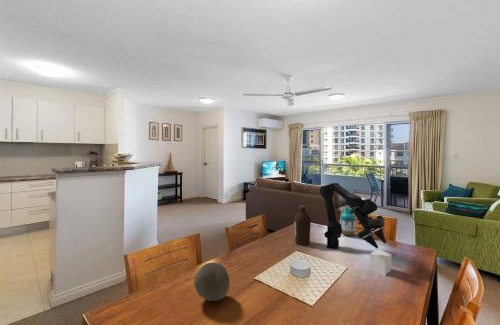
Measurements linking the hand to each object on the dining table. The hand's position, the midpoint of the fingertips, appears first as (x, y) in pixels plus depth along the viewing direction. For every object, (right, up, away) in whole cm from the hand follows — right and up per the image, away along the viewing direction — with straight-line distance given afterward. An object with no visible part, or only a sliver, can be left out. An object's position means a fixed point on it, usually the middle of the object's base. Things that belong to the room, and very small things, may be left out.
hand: (381, 245), depth 127 cm
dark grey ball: (-83, -15, -24) cm, 88 cm away
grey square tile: (+12, -12, +11) cm, 20 cm away
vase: (+3, -10, +52) cm, 53 cm away
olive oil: (-33, -11, +37) cm, 51 cm away
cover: (-1, -13, -1) cm, 13 cm away
